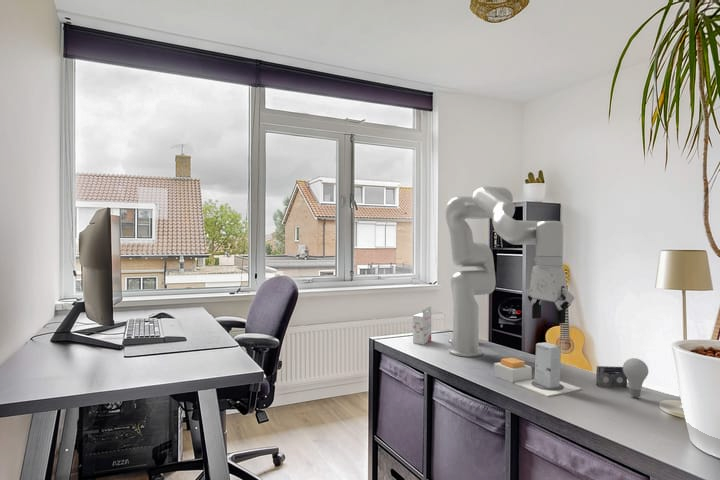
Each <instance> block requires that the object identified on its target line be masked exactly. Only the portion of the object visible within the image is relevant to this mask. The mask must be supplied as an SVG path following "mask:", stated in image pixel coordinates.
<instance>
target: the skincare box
mask: <svg viewBox="0 0 720 480" xmlns="http://www.w3.org/2000/svg"><path fill="white" fill-rule="evenodd" d="M561 357H562V347H561V346H560V345H556V344H554V343H549V342H544V341H543V342H538V343H535V358H534V359H535V360H534V361H535V362H534V363H535V364H534V379H535V383H537V384H539V385H542V386H544V387H547V388H556V387H559V384H560V381H561V379H560V378H561V377H560V376H561V359H562V358H561Z"/></svg>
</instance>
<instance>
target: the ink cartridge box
mask: <svg viewBox="0 0 720 480" xmlns="http://www.w3.org/2000/svg"><path fill="white" fill-rule="evenodd" d="M421 311H422V312H420V313H416V314H414V315H412V343H413V344H418V345H425V344H427V343H429V342H432V307H431V306H428V307H425V308H422V310H421Z"/></svg>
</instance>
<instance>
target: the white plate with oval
mask: <svg viewBox="0 0 720 480" xmlns="http://www.w3.org/2000/svg"><path fill="white" fill-rule="evenodd" d="M514 385H516V386H519V387H522V388H524V389H526V390H528V391H532V392H533V393H535V394H536V393H537V394H539V395H541V396H544V397H547V398H549V397H553V396H557V395H563V394H567V393H568V394H569V393H572V392H577V391H580V390H581V389H582V388H581V387H580V386H579V387H578V386H576V385H574V384H573V385H572V384H570V383H567V382H565V381H562V380H560V384H559V387H556V388H547V387H544V386H542V385H539V384H537V383H535V378H533V379H532V378H531V380H526V381H521V382H516V383H514Z"/></svg>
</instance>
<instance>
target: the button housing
mask: <svg viewBox="0 0 720 480" xmlns="http://www.w3.org/2000/svg"><path fill="white" fill-rule="evenodd" d="M532 367H533V366H530V365H528V364H525V363H524V367H519V368H510V367H507V366H504V365H502V364H501V361H500V362H494V363H493V376H494V377H497V378H499V379H502V380H504V381H506V382H508V383H511V384H515V383H516V382H522V381H527V380H532V370H533V369H532Z"/></svg>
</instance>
